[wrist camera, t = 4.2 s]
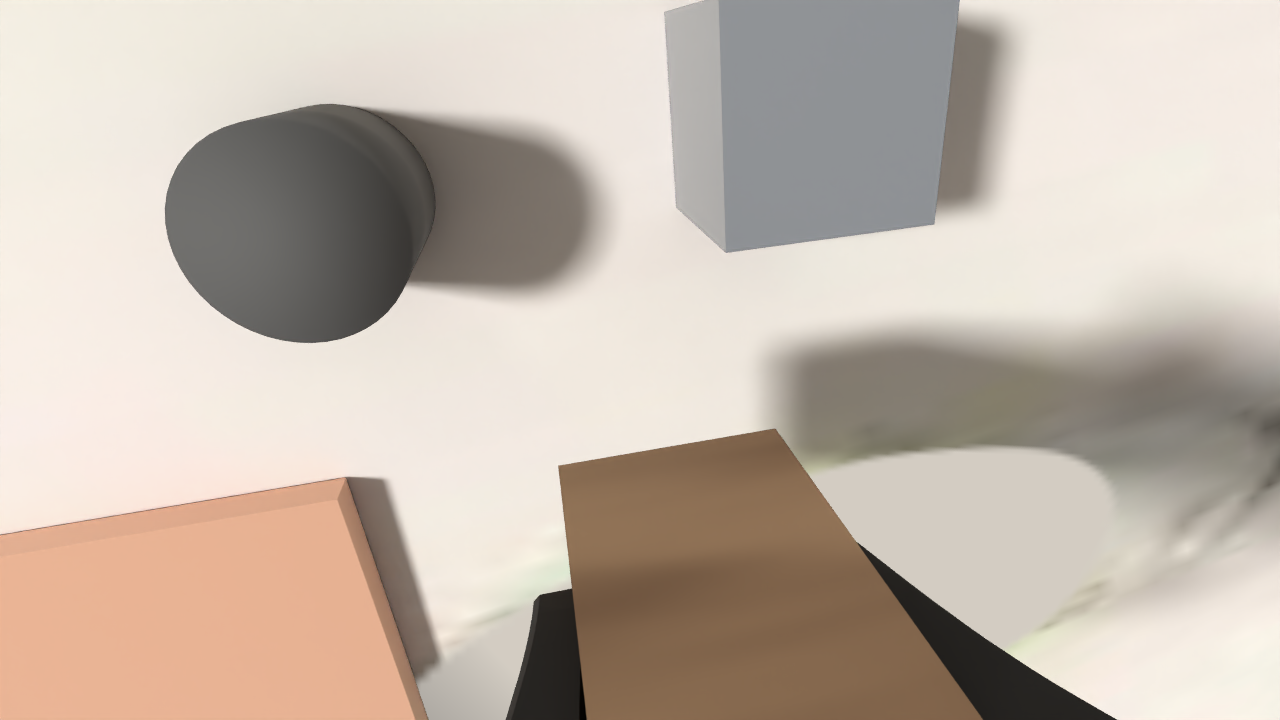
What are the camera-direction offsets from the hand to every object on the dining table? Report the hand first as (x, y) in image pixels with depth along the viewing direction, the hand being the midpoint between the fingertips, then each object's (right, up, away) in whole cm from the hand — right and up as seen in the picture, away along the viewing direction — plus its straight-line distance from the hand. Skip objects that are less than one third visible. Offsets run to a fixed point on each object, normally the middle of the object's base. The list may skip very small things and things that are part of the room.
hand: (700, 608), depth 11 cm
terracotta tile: (-15, -6, +9) cm, 18 cm away
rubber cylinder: (-8, +8, +4) cm, 12 cm away
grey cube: (+2, +10, +5) cm, 12 cm away
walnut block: (0, +1, +2) cm, 2 cm away
